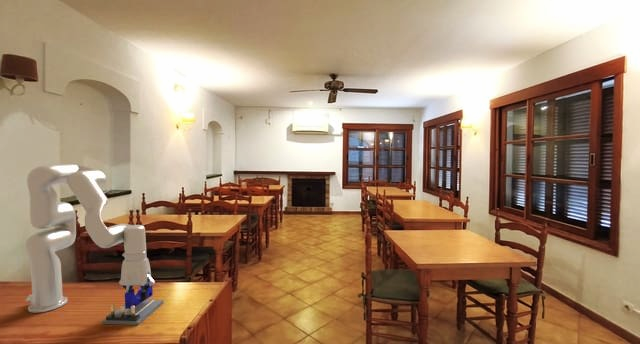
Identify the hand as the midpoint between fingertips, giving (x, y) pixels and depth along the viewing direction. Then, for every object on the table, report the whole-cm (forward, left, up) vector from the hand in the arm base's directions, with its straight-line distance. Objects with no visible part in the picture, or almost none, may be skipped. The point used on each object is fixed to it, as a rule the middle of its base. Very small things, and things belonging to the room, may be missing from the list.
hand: (137, 299), depth 130 cm
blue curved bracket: (0, 0, -1) cm, 1 cm away
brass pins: (0, -9, -3) cm, 10 cm away
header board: (0, -2, -4) cm, 5 cm away
